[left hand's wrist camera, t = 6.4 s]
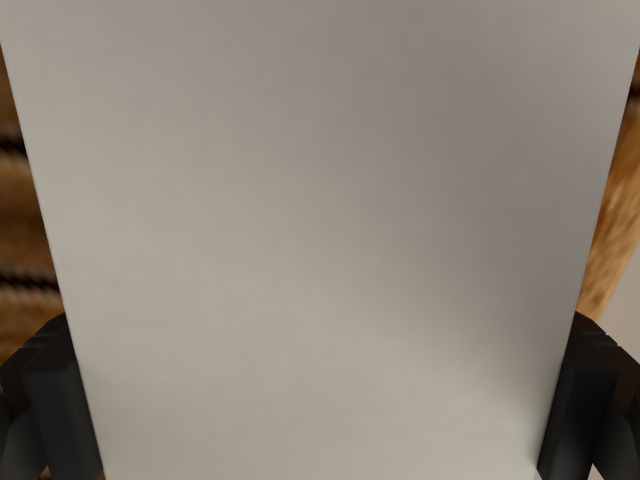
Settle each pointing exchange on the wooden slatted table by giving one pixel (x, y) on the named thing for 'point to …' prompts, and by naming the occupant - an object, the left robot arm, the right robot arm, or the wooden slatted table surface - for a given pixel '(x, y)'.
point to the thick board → (320, 223)
